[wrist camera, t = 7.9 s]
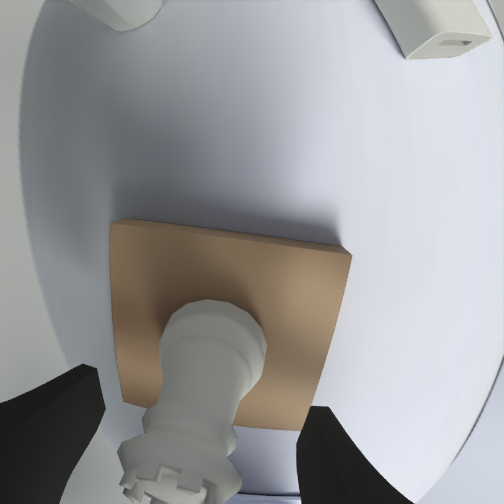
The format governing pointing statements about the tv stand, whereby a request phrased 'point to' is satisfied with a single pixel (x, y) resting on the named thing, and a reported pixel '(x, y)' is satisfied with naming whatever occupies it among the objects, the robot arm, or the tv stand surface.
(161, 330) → the walnut plinth
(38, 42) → the tv stand surface
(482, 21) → the usb wall charger
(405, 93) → the tv stand surface
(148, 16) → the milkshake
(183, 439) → the rook chess piece
